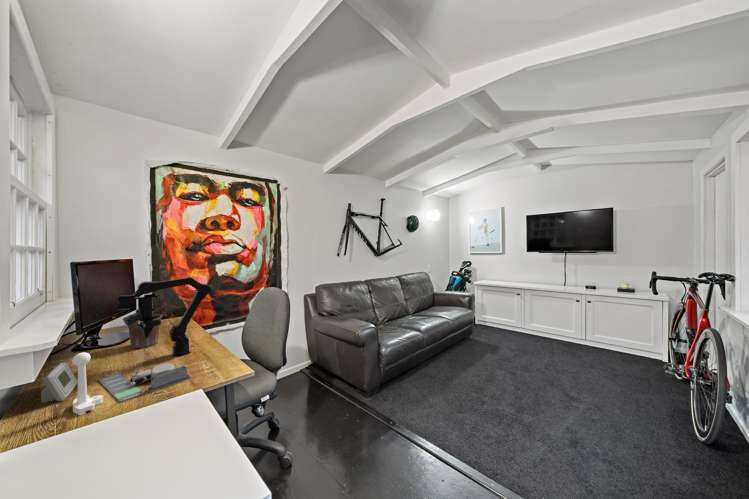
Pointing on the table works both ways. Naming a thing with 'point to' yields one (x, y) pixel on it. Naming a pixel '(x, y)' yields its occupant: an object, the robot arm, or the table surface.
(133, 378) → the robot toy
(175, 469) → the table surface
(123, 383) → the scale strip
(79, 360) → the joystick
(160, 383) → the grey wedge block
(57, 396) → the digital clock
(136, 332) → the plant pot
